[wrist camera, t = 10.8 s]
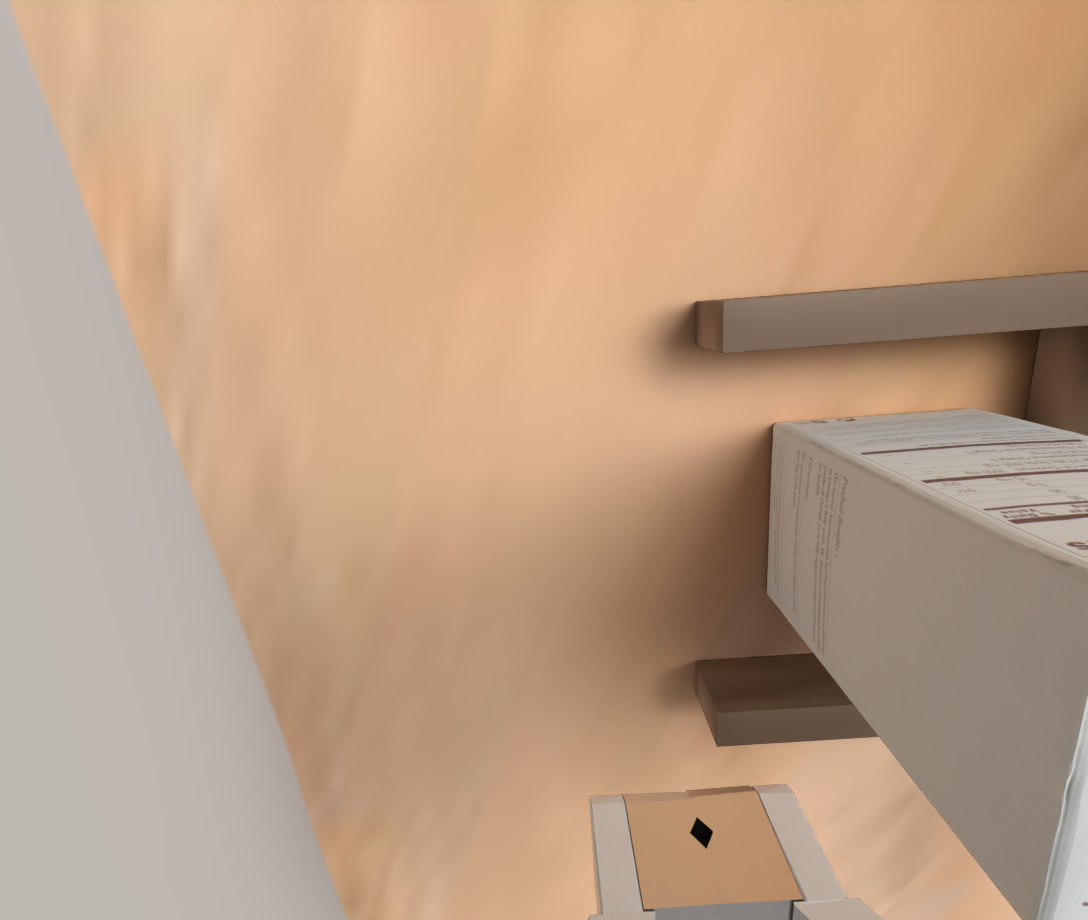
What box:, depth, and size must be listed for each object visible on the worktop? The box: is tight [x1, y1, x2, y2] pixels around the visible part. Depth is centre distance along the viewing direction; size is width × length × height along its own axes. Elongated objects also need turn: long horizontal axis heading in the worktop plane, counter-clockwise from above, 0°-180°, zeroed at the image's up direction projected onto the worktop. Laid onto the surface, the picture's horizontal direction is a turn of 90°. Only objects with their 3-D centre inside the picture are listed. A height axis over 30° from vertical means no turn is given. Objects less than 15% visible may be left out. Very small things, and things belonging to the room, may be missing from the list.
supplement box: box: [767, 408, 1088, 920], centre depth 15 cm, size 7×7×13 cm
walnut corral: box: [696, 271, 1088, 747], centre depth 19 cm, size 16×14×3 cm
